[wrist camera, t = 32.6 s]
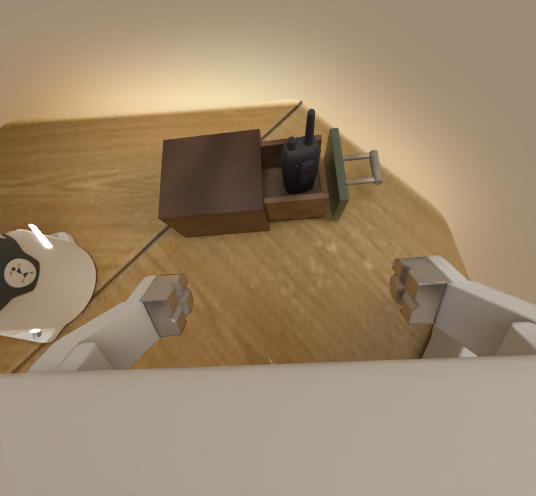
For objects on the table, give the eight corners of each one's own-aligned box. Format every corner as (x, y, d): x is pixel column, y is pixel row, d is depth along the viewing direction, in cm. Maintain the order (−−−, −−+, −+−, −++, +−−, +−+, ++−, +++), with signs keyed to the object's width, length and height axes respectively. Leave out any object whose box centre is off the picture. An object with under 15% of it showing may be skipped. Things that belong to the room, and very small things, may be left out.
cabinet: (266, 164, 45) (259, 128, 36) (269, 230, 41) (263, 209, 33) (188, 172, 46) (163, 140, 37) (185, 237, 43) (158, 218, 34)
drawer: (364, 154, 42) (378, 122, 35) (375, 216, 39) (392, 195, 32) (253, 166, 44) (246, 138, 37) (256, 226, 41) (248, 209, 34)
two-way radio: (312, 171, 41) (322, 95, 27) (320, 194, 40) (336, 128, 25) (280, 180, 41) (273, 110, 27) (287, 204, 40) (284, 143, 26)
